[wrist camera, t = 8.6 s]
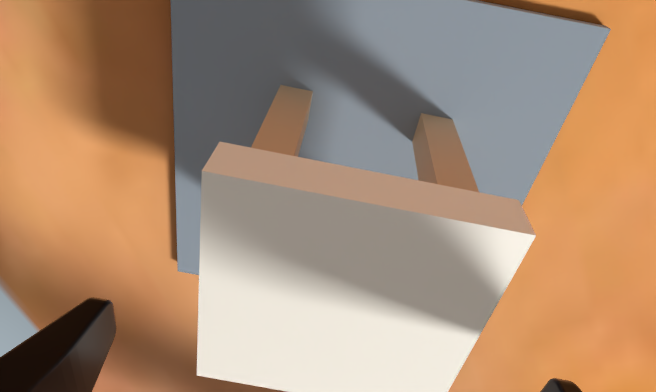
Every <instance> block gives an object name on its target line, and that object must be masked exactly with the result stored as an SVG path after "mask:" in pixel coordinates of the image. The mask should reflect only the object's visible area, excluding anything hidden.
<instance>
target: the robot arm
mask: <svg viewBox="0 0 656 392" xmlns="http://www.w3.org/2000/svg"><path fill="white" fill-rule="evenodd" d="M115 333H116V322H115V315H114V308H113V303H112V302H111V301H110V300H106V299H100V298H89V299H87V300H85V301H83V302H82V303H80V304H79V305H77V306H76V307H74V308H73V309H72V310H70V311H69V312H67V313H66V314H64V315H63V316H61V317H60V318H58V319H57V320H55V321H54V322H52V323H51V324H49V325H48V326H46V327H45V328H43V329H42V330H40V331H39V332H37V333H36V334H34V335H33V336H31V337H30V338H29V339H27V340H25V341H24V342H22V343H21V344H19V345H18V346H16V347H15V348H13V349H12V350H11V351H9V352H8V353H6V354H5V355H3V356H2V357H0V392H92V390H93V388H94V385H95V383H96V381H97V378H98V376H99V373H100V371H101V369H102V366H103V364H104V361H105V359H106V357H107V354H108V352H109V349H110V347H111V345H112V342H113V340H114V337H115ZM541 392H582V391H581V390H580V389H579V387H578V386H577V385H576V384H574V383H573V382H571V381H568V380H562V379H556V378H553V379H550V380H549V381H548V382H547V384H546V385H545V386H544V388H543V389H542V390H541Z"/></svg>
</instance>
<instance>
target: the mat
mask: <svg viewBox="0 0 656 392" xmlns="http://www.w3.org/2000/svg"><path fill="white" fill-rule="evenodd" d="M610 30H611V29H610V28H608V27H606V26H604V25H599V24H594V23H589V22H584V21H579V20H574V19H569V18H564V17H559V16H554V15H549V14H544V13H539V12H534V11H529V10H524V9H519V8H514V7H509V6H504V5H499V4H494V3H489V2H484V1H479V0H171V33H172V71H173V109H174V147H175V185H176V223H177V261H178V271H179V272H185V273H191V274H196V275H199V261H200V220H201V180H202V170H203V168H204V166H205V165H206V163H207V161H208V160H209V158H210V157H211V155H212V153H213V152H214V150H215V148H216V147H217V145H218V143H219V142H225V143H230V144H235V145H240V146H245V147H250V148H251V146H252V144H253V142H254V140H255V138H256V136H257V134H258V132H259V129H260V127H261V125H262V123H263V121H264V119H265V117H266V115H267V113H268V111H269V108H270V106H271V104H272V102H273V100H274V98H275V96H276V94H277V92H278V89H279V87H280V85H284V86H289V87H294V88H299V89H304V90H309V91H313V94H312V100H311V106H310V112H309V117H308V122H307V126H306V130H305V133H304V137H303V140H302V144H301V148H300V151H299V155H298V157H301V158H306V159H311V160H317V161H322V162H327V163H332V164H337V165H342V166H347V167H352V168H357V169H363V170H368V171H373V172H378V173H383V174H388V175H393V176H398V177H403V178H408V179H414V180H418V174H417V168H416V162H415V156H414V150H413V144H412V141H413V137H414V134H415V131H416V128H417V125H418V122H419V119H420V115H421V113H423V114H428V115H433V116H438V117H443V118H448V119H453V121H454V124H455V127H456V130H457V133H458V135H459V138H460V141H461V144H462V146H463V149H464V152H465V155H466V157H467V160H468V163H469V166H470V168H471V171H472V174H473V177H474V179H475V182H476V185H477V188H478V190H479V192H480V193H485V194H490V195H495V196H500V197H505V198H510V199H516V200H519V201H520V203H521V205H522V204H523V202H524V200H525V198H526V196H527V194H528V192H529V190H530V188H531V186H532V184H533V182H534V180H535V179H536V177H537V175H538V173H539V171H540V169H541V167H542V165H543V163H544V161H545V159H546V157H547V155H548V153H549V151H550V149H551V147H552V145H553V143H554V141H555V139H556V137H557V135H558V133H559V131H560V129H561V127H562V125H563V123H564V121H565V119H566V117H567V115H568V113H569V111H570V109H571V107H572V105H573V103H574V101H575V99H576V97H577V95H578V93H579V91H580V89H581V87H582V85H583V83H584V81H585V79H586V77H587V75H588V73H589V71H590V69H591V67H592V65H593V64H594V62H595V60H596V58H597V56H598V54H599V52H600V50H601V48H602V46H603V44H604V42H605V40H606V38H607V36H608V34H609V32H610Z"/></svg>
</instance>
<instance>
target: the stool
mask: <svg viewBox="0 0 656 392" xmlns="http://www.w3.org/2000/svg"><path fill="white" fill-rule="evenodd" d="M312 94H313V91H309V90H304V89H299V88H294V87H289V86H284V85H280V87H279V89H278V92H277V94H276V96H275V98H274V100H273V102H272V104H271V106H270V108H269V111H268V113H267V115H266V117H265V119H264V121H263V123H262V125H261V127H260V129H259V132H258V134H257V136H256V138H255V140H254V142H253V144H252V146H251V148H250V147H245V146H240V145H235V144H230V143H225V142H219V143H218V145H217V147H216V148H215V150H214V152H213V153H212V155H211V157H210V158H209V160H208V161H207V163H206V165H205V166H204V168H203V170H202V180H201V220H200V261H199V302H198V343H197V376H203V377H208V378H214V379H219V380H225V381H231V382H236V383H242V384H247V385H253V386H259V387H264V388H270V389H276V390H281V391H287V392H448V390H449V389H450V387H451V385H452V383H453V382H454V380H455V378H456V376H457V374H458V373H459V371H460V369H461V367H462V366H463V364H464V362H465V360H466V359H467V357H468V355H469V353H470V351H471V350H472V348H473V346H474V344H475V343H476V341H477V339H478V337H479V336H480V334H481V332H482V330H483V328H484V327H485V325H486V323H487V321H488V320H489V318H490V316H491V314H492V313H493V311H494V309H495V307H496V306H497V304H498V302H499V300H500V298H501V297H502V295H503V293H504V291H505V290H506V288H507V286H508V284H509V283H510V281H511V279H512V277H513V275H514V274H515V272H516V270H517V268H518V267H519V265H520V263H521V261H522V260H523V258H524V256H525V254H526V253H527V251H528V249H529V247H530V245H531V244H532V242H533V240H534V238H535V237H536V234H535V232H534V230H533V228H532V226H531V224H530V222H529V220H528V218H527V216H526V214H525V212H524V210H523V208H522V205H521V203H520V201H519V200H516V199H510V198H505V197H500V196H495V195H490V194H485V193H480V192H479V190H478V188H477V185H476V182H475V179H474V177H473V174H472V171H471V168H470V166H469V163H468V160H467V157H466V155H465V152H464V149H463V146H462V144H461V141H460V138H459V135H458V133H457V130H456V127H455V124H454V121H453V119H448V118H443V117H438V116H433V115H428V114H423V113H421V115H420V119H419V122H418V125H417V128H416V131H415V134H414V137H413V141H412V144H413V150H414V156H415V162H416V168H417V174H418V180H414V179H408V178H403V177H398V176H393V175H388V174H383V173H378V172H373V171H368V170H363V169H357V168H352V167H347V166H342V165H337V164H332V163H327V162H322V161H317V160H311V159H306V158H301V157H298V155H299V151H300V148H301V144H302V140H303V137H304V133H305V130H306V126H307V122H308V117H309V112H310V106H311V100H312Z"/></svg>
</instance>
